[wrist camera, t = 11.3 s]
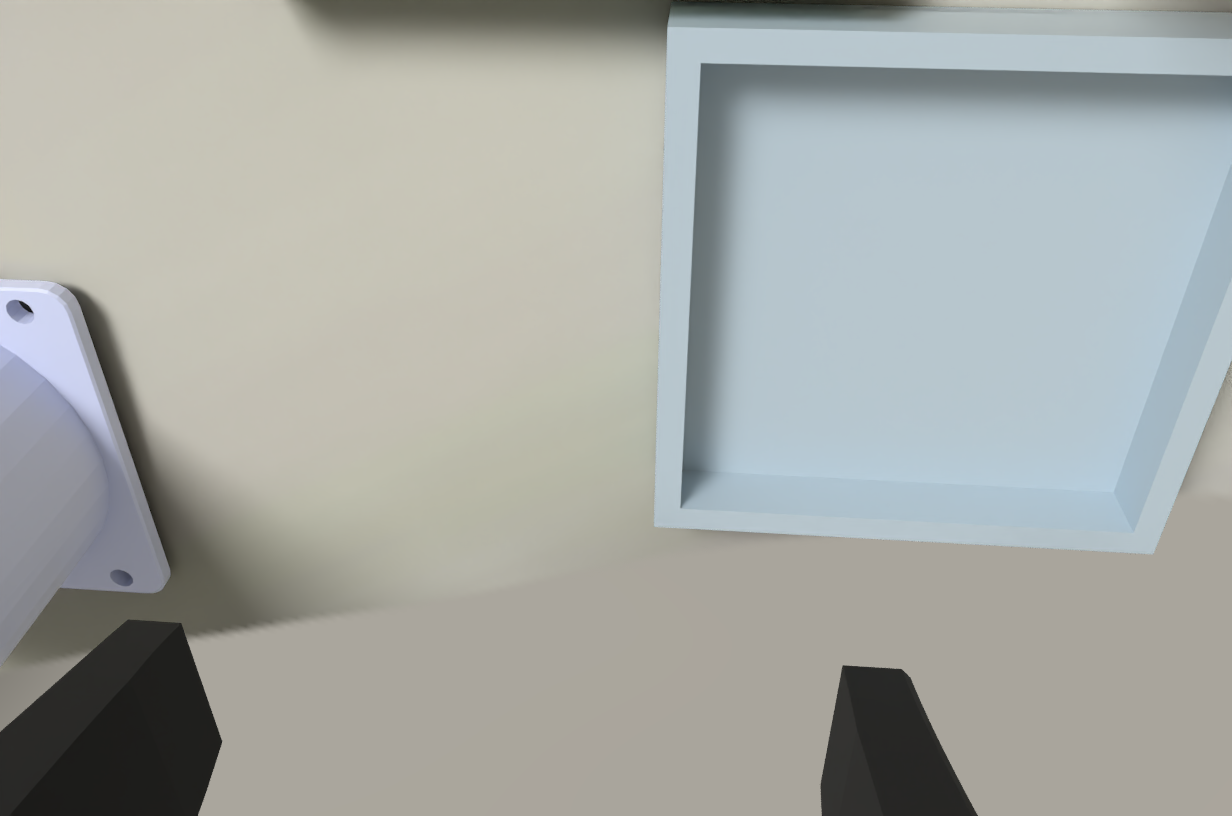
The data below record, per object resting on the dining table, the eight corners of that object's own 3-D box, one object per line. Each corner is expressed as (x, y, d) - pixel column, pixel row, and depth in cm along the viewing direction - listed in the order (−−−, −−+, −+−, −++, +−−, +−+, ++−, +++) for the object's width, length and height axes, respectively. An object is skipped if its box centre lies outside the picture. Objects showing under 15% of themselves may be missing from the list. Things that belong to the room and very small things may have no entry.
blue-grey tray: (657, 479, 21) (654, 526, 20) (671, 1, 16) (666, 26, 15) (1127, 503, 21) (1153, 554, 19) (1309, 14, 15) (1360, 42, 14)
